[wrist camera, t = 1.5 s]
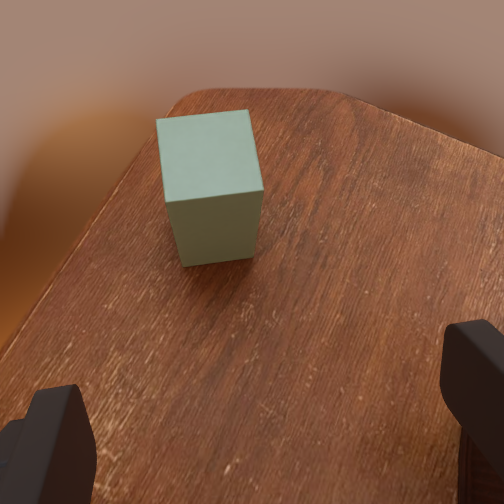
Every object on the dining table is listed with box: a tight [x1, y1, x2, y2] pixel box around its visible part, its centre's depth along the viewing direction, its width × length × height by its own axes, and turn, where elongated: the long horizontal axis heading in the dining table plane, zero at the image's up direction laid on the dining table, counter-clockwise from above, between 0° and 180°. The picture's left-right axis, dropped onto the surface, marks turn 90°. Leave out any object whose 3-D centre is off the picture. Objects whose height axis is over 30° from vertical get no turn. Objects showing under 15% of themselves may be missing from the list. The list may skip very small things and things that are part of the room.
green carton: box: [156, 109, 264, 267], centre depth 29 cm, size 5×5×10 cm
